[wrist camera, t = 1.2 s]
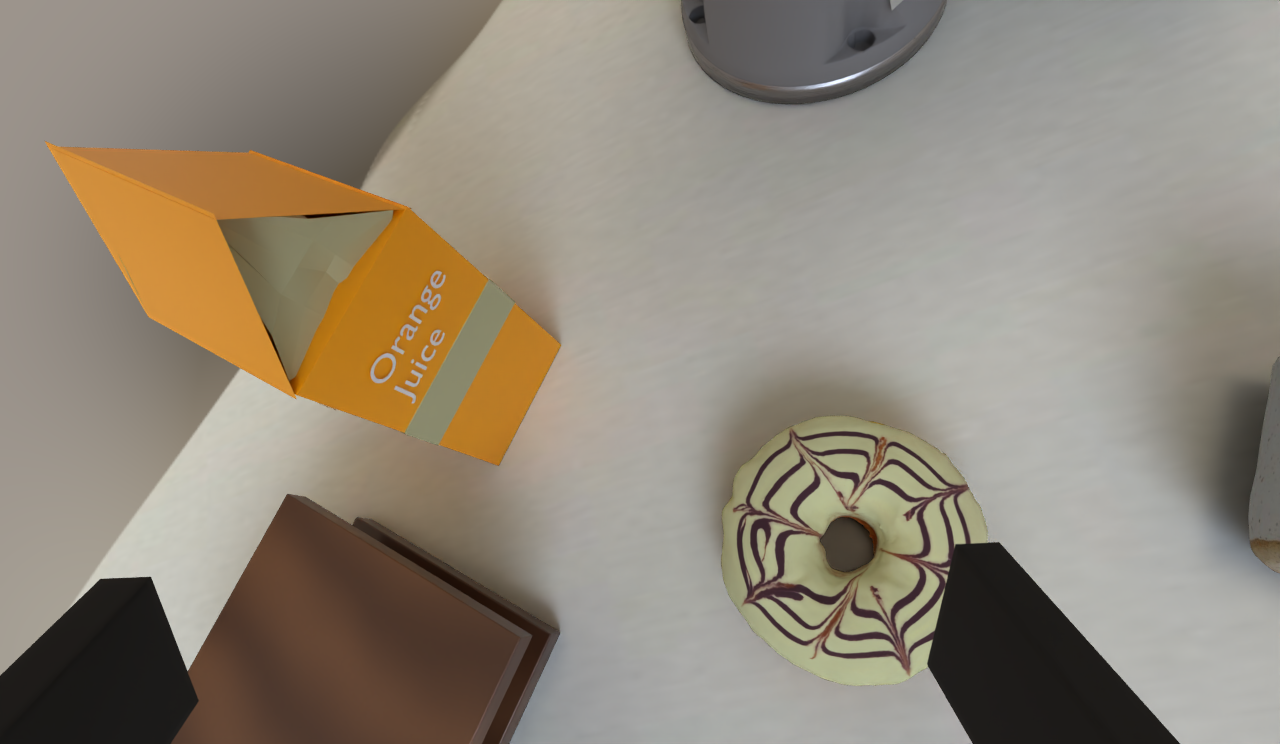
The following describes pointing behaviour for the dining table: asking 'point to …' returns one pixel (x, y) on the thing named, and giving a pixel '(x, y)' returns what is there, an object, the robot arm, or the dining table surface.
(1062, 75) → the dining table surface
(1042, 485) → the dining table surface
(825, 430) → the decorated donut
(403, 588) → the stand
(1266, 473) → the ceramic mug
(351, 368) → the orange juice
